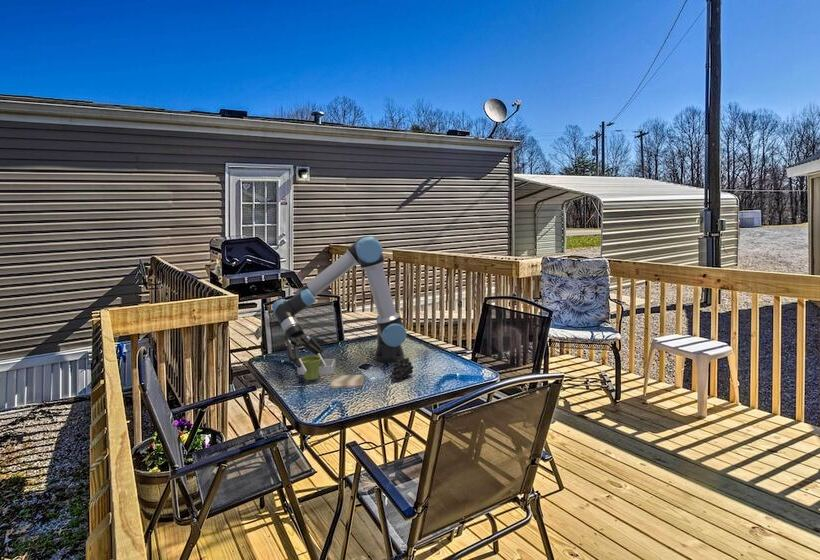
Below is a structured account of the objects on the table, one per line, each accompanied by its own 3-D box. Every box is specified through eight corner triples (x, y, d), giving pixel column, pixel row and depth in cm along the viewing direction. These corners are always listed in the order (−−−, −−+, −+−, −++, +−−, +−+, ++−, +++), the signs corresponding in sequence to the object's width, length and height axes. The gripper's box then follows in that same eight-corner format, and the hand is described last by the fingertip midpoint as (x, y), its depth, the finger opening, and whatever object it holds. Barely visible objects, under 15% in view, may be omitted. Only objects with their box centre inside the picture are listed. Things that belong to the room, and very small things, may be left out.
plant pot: (317, 381, 211) (316, 362, 210) (296, 381, 213) (295, 361, 212) (325, 374, 220) (324, 356, 219) (305, 374, 222) (304, 355, 221)
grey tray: (335, 367, 239) (335, 358, 238) (332, 375, 227) (332, 366, 226) (302, 368, 238) (302, 359, 238) (297, 376, 226) (297, 367, 226)
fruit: (394, 363, 212) (412, 354, 225) (379, 367, 217) (398, 357, 230) (400, 382, 212) (418, 372, 225) (385, 385, 217) (404, 375, 229)
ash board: (364, 376, 224) (364, 374, 224) (362, 387, 210) (362, 385, 210) (333, 377, 224) (333, 375, 224) (329, 388, 210) (329, 386, 210)
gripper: (310, 329, 233) (332, 368, 224) (268, 338, 217) (289, 380, 208) (315, 319, 229) (338, 358, 220) (273, 328, 213) (296, 371, 204)
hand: (314, 369), depth 214 cm, fingers closed on plant pot, 9 cm apart
